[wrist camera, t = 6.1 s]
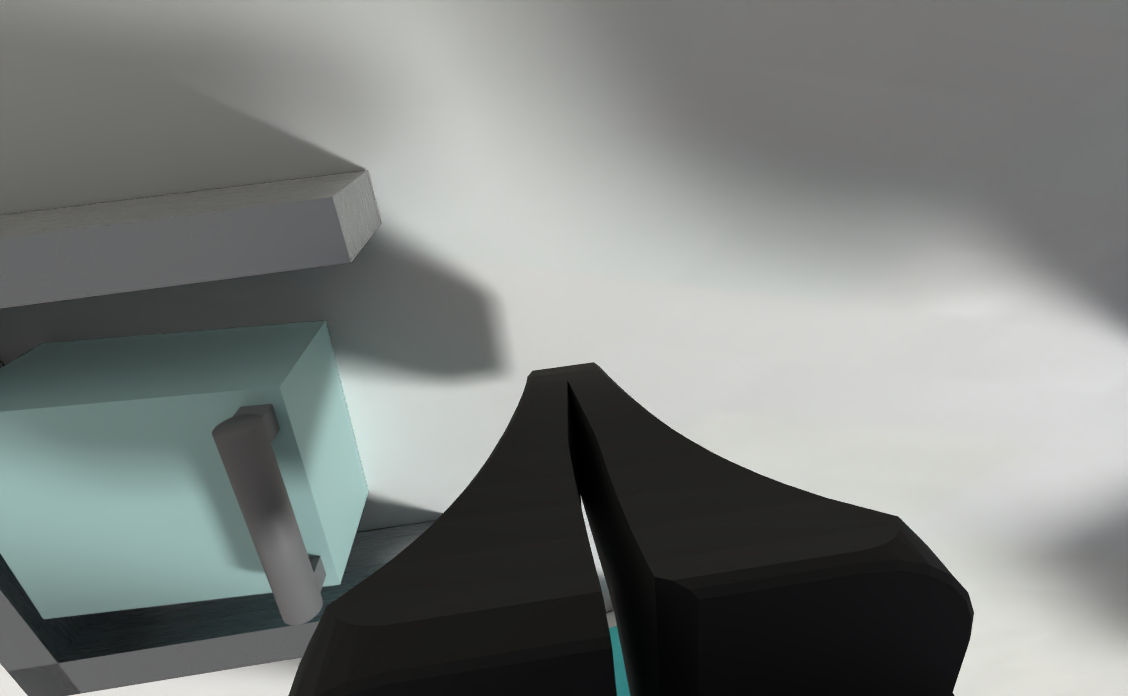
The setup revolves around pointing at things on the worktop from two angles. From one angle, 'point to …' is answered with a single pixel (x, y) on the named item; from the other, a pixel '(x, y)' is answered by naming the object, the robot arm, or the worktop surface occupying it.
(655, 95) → the worktop surface
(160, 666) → the bay
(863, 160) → the worktop surface
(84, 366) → the mint cube with handle
